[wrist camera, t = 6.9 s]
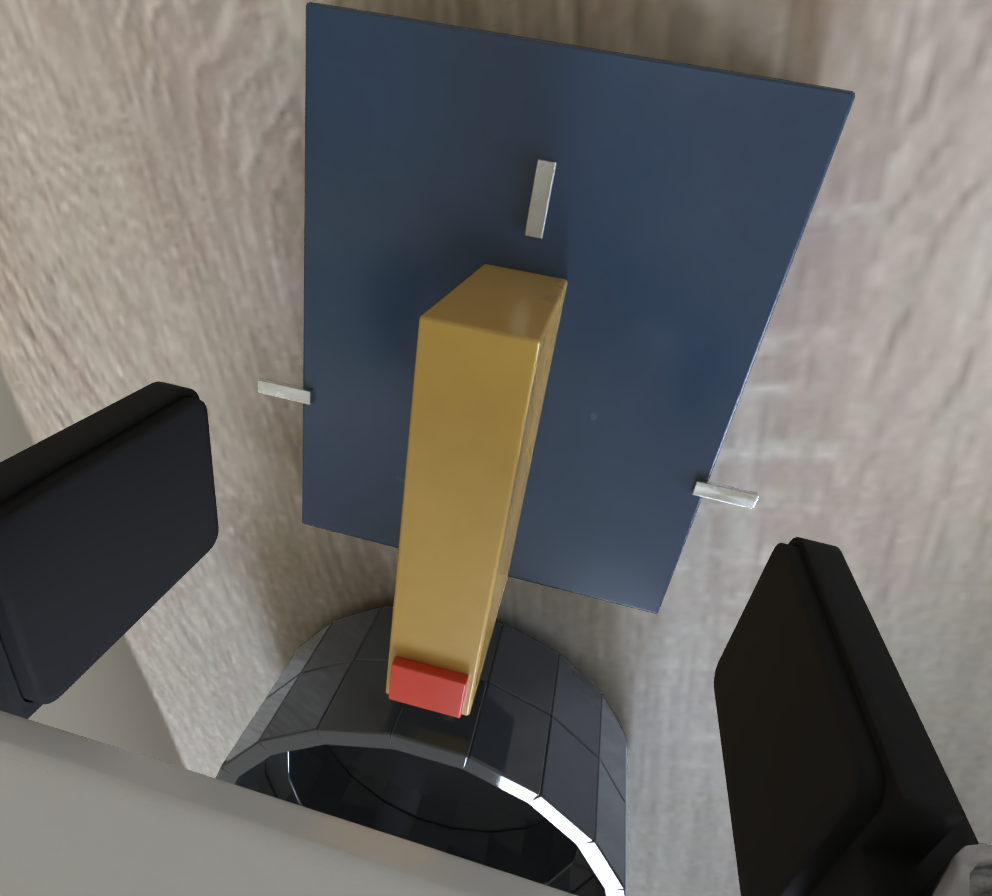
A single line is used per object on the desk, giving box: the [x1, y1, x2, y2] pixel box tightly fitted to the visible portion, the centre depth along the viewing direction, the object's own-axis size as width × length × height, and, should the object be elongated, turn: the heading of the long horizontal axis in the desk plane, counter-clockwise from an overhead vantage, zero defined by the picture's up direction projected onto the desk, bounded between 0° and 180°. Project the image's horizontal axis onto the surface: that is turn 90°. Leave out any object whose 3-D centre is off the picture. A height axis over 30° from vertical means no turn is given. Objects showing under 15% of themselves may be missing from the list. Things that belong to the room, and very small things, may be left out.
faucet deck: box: [257, 2, 855, 613], centre depth 15 cm, size 14×12×3 cm
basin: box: [216, 606, 630, 896], centre depth 21 cm, size 13×13×6 cm
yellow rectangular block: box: [386, 264, 567, 718], centre depth 12 cm, size 8×2×5 cm, turn 172°
